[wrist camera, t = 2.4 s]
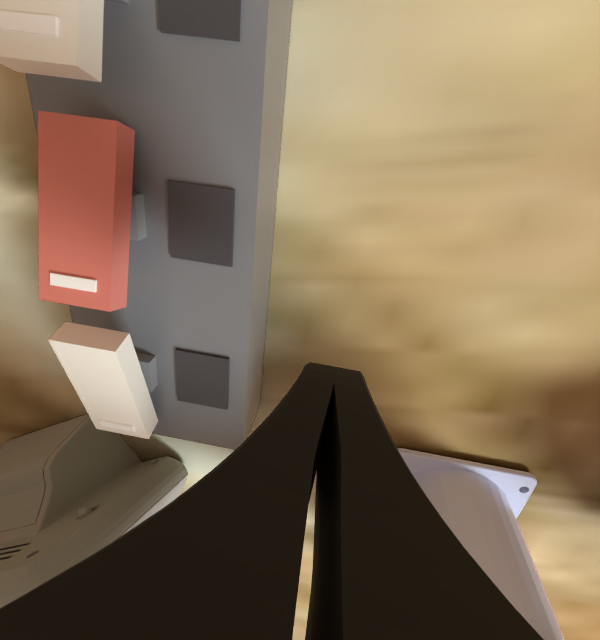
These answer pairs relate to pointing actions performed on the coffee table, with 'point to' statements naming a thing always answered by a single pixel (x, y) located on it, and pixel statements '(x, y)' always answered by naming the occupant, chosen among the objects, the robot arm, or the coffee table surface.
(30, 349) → the coffee table surface
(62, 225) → the plate
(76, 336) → the block
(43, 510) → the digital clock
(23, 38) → the rocker
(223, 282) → the power strip
